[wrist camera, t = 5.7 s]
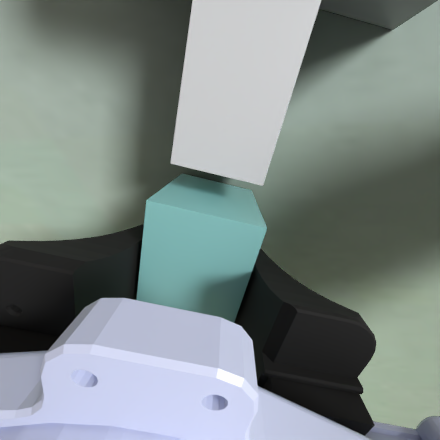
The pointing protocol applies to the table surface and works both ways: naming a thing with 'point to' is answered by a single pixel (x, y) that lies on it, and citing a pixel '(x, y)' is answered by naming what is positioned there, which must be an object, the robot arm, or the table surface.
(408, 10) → the grey block
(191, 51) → the plug
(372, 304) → the table surface
